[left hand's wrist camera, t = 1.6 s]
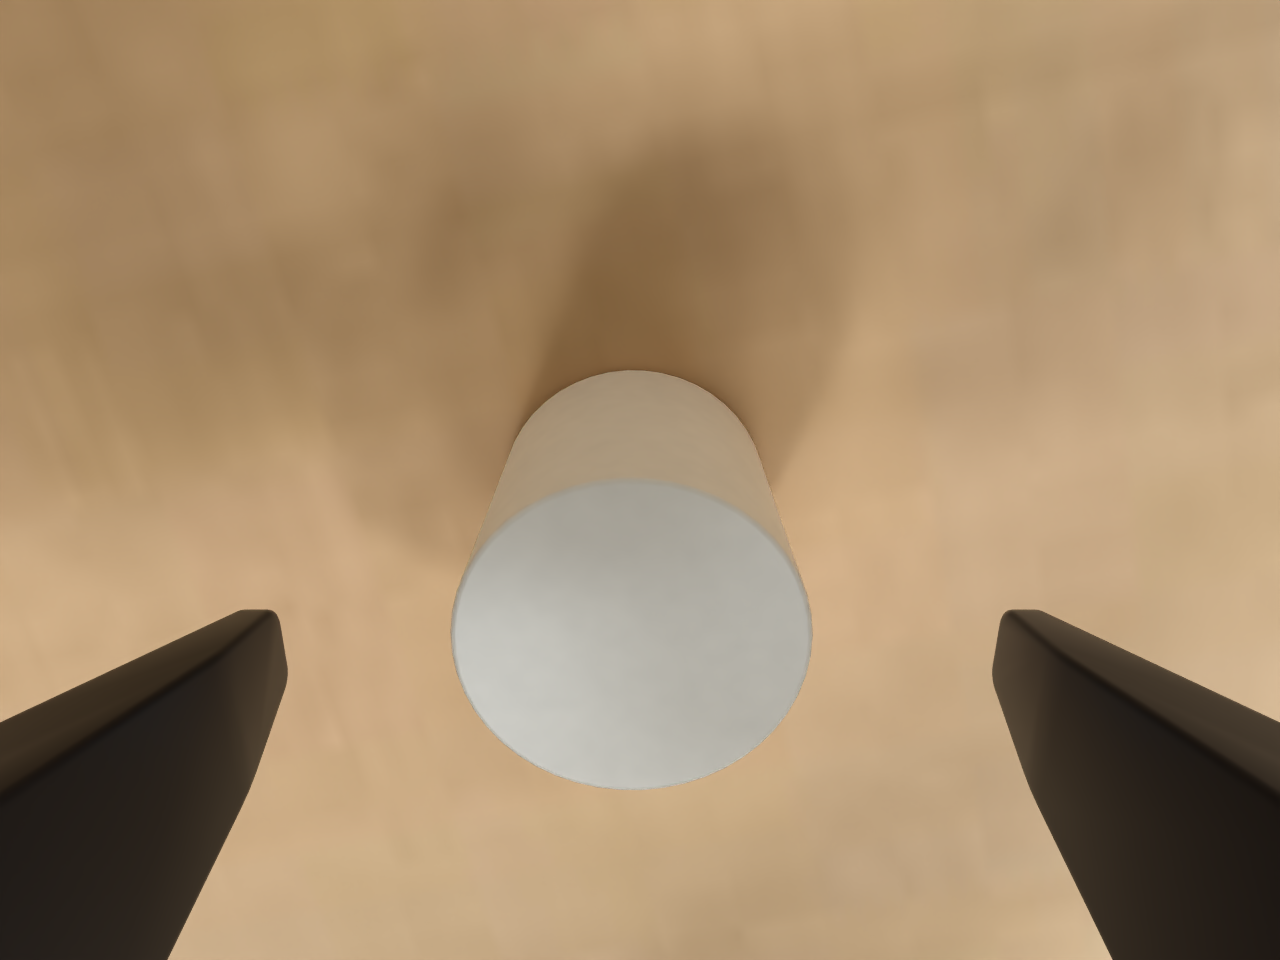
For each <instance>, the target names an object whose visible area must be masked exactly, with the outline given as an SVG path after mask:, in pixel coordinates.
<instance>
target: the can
mask: <svg viewBox="0 0 1280 960" xmlns="http://www.w3.org/2000/svg"><path fill="white" fill-rule="evenodd" d="M812 637H813V632H812V616H811V610H810V606H809V601H808V596H807V593H806V590H805V587H804V584H803V581H802V578H801V575H800V572H799V570H798V567H797V564H796V561H795V558H794V555H793V552H792V549H791V547H790V544H789V541H788V538H787V535H786V532H785V529H784V526H783V524H782V521H781V518H780V515H779V512H778V509H777V506H776V503H775V501H774V498H773V495H772V492H771V489H770V486H769V483H768V481H767V478H766V475H765V472H764V469H763V466H762V463H761V460H760V458H759V455H758V452H757V450H756V447H755V444H754V442H753V441H752V439H751V437H750V435H749V433H748V431H747V430H746V428H745V427H744V426H743V424H742V423H741V421H740V420H739V419H738V417H737V416H736V415H735V414H734V413H733V412H732V411H731V410H730V409H729V408H728V407H727V406H726V405H725V404H724V403H723V402H721V401H720V400H719V399H718V398H716V397H715V396H714V395H712V394H711V393H709V392H708V391H706V390H704V389H703V388H701V387H699V386H697V385H696V384H693V383H691V382H688V381H686V380H684V379H681V378H679V377H675V376H671V375H668V374H664V373H659V372H652V371H644V370H624V371H616V372H608V373H604V374H600V375H596V376H592V377H589V378H586V379H584V380H581V381H579V382H576V383H574V384H572V385H570V386H568V387H567V388H565V389H563V390H561V391H559V392H558V393H557V394H555V395H554V396H553V397H551V398H550V399H548V400H547V401H546V402H545V403H544V404H543V405H542V406H540V407H539V408H538V409H537V410H536V411H535V412H534V413H533V414H532V416H531V417H530V418H529V420H528V421H527V422H526V423H525V425H524V426H523V427H522V429H521V431H520V433H519V434H518V436H517V438H516V440H515V441H514V444H513V446H512V449H511V451H510V454H509V456H508V459H507V462H506V464H505V467H504V469H503V472H502V475H501V477H500V480H499V482H498V485H497V488H496V490H495V493H494V495H493V498H492V501H491V503H490V506H489V509H488V511H487V514H486V516H485V519H484V522H483V524H482V527H481V529H480V532H479V535H478V537H477V540H476V542H475V545H474V548H473V550H472V553H471V555H470V558H469V561H468V563H467V566H466V568H465V571H464V574H463V576H462V579H461V581H460V584H459V587H458V589H457V592H456V597H455V601H454V605H453V610H452V619H451V645H452V654H453V658H454V663H455V667H456V671H457V674H458V677H459V679H460V682H461V685H462V687H463V690H464V692H465V694H466V696H467V698H468V699H469V701H470V703H471V705H472V707H473V708H474V710H475V712H476V713H477V714H478V716H479V717H480V718H481V720H482V721H483V722H484V724H485V725H486V726H487V728H488V729H489V730H490V731H491V732H492V733H493V734H494V735H495V736H496V737H497V738H498V739H499V740H500V741H501V742H502V743H504V744H505V745H506V746H507V747H509V748H510V749H511V750H512V751H514V752H515V753H516V754H517V755H519V756H520V757H522V758H524V759H525V760H527V761H529V762H530V763H532V764H533V765H535V766H537V767H539V768H541V769H543V770H545V771H547V772H549V773H552V774H554V775H556V776H559V777H562V778H565V779H568V780H571V781H574V782H576V783H581V784H585V785H590V786H594V787H600V788H609V789H617V790H646V789H656V788H665V787H669V786H674V785H679V784H684V783H687V782H690V781H694V780H697V779H700V778H703V777H706V776H708V775H710V774H712V773H715V772H717V771H719V770H721V769H724V768H726V767H727V766H729V765H731V764H732V763H734V762H736V761H737V760H739V759H741V758H742V757H744V756H745V755H746V754H748V753H749V752H750V751H752V750H753V749H754V748H756V747H757V746H758V745H759V744H760V743H762V742H763V741H764V740H765V739H766V738H767V737H768V736H769V735H770V734H771V733H772V732H773V731H774V730H775V728H776V727H777V726H778V725H779V723H780V722H781V721H782V719H783V718H784V717H785V716H786V714H787V713H788V711H789V709H790V708H791V706H792V704H793V703H794V701H795V699H796V697H797V696H798V693H799V691H800V688H801V686H802V684H803V681H804V679H805V676H806V673H807V669H808V665H809V661H810V657H811V648H812Z"/></svg>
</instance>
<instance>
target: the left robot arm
mask: <svg viewBox="0 0 1280 960" xmlns="http://www.w3.org/2000/svg"><path fill="white" fill-rule="evenodd" d="M287 676H288V668H287V661H286V656H285V650H284V644H283V638H282V632H281V626H280V621H279V619H278V616H277V614H276V613H275V612H273V611H272V610H240V611H237V612H235V613H233V614H231V615H229V616H227V617H225V618H222V619H220V620H218V621H216V622H214V623H212V624H210V625H207V626H205V627H203V628H201V629H199V630H197V631H195V632H192V633H190V634H188V635H186V636H184V637H182V638H180V639H178V640H175V641H173V642H171V643H169V644H167V645H165V646H163V647H160V648H158V649H156V650H154V651H152V652H150V653H148V654H145V655H143V656H141V657H139V658H137V659H135V660H133V661H131V662H128V663H126V664H124V665H122V666H120V667H118V668H116V669H113V670H111V671H109V672H107V673H105V674H103V675H101V676H98V677H96V678H94V679H92V680H90V681H88V682H86V683H84V684H81V685H79V686H77V687H75V688H73V689H71V690H69V691H66V692H64V693H62V694H60V695H58V696H56V697H54V698H51V699H49V700H47V701H45V702H43V703H41V704H39V705H37V706H34V707H32V708H30V709H28V710H26V711H24V712H22V713H19V714H17V715H15V716H13V717H11V718H9V719H7V720H4V721H2V722H0V960H167V959H168V957H169V955H170V953H171V951H172V949H173V947H174V945H175V943H176V941H177V939H178V937H179V935H180V933H181V931H182V929H183V927H184V924H185V922H186V920H187V918H188V916H189V914H190V912H191V910H192V908H193V906H194V904H195V902H196V900H197V898H198V896H199V894H200V892H201V889H202V887H203V885H204V883H205V881H206V879H207V877H208V875H209V873H210V871H211V869H212V867H213V865H214V863H215V861H216V859H217V857H218V855H219V852H220V850H221V848H222V846H223V844H224V842H225V840H226V838H227V836H228V834H229V832H230V830H231V828H232V826H233V824H234V822H235V820H236V818H237V815H238V813H239V811H240V809H241V807H242V805H243V803H244V801H245V798H246V796H247V794H248V792H249V790H250V787H251V784H252V782H253V779H254V777H255V774H256V771H257V768H258V765H259V763H260V760H261V757H262V754H263V751H264V748H265V745H266V742H267V740H268V737H269V734H270V731H271V728H272V725H273V722H274V719H275V716H276V714H277V711H278V708H279V705H280V702H281V699H282V696H283V693H284V690H285V687H286V683H287ZM992 676H993V683H994V687H995V690H996V693H997V696H998V699H999V702H1000V705H1001V708H1002V711H1003V714H1004V716H1005V719H1006V722H1007V725H1008V728H1009V731H1010V734H1011V737H1012V740H1013V742H1014V745H1015V748H1016V751H1017V754H1018V757H1019V760H1020V763H1021V766H1022V768H1023V771H1024V774H1025V777H1026V779H1027V782H1028V784H1029V787H1030V790H1031V792H1032V794H1033V796H1034V798H1035V801H1036V803H1037V805H1038V807H1039V809H1040V811H1041V813H1042V815H1043V818H1044V820H1045V822H1046V824H1047V826H1048V828H1049V830H1050V832H1051V834H1052V836H1053V838H1054V840H1055V842H1056V844H1057V846H1058V848H1059V850H1060V852H1061V855H1062V857H1063V859H1064V861H1065V863H1066V865H1067V867H1068V869H1069V871H1070V873H1071V875H1072V877H1073V879H1074V881H1075V883H1076V885H1077V887H1078V890H1079V892H1080V894H1081V896H1082V898H1083V900H1084V902H1085V904H1086V906H1087V908H1088V910H1089V912H1090V914H1091V916H1092V918H1093V920H1094V922H1095V924H1096V927H1097V929H1098V931H1099V933H1100V935H1101V937H1102V939H1103V941H1104V943H1105V945H1106V947H1107V949H1108V951H1109V953H1110V955H1111V957H1112V959H1113V960H1280V722H1278V721H1275V720H1273V719H1271V718H1269V717H1267V716H1265V715H1263V714H1261V713H1258V712H1256V711H1254V710H1252V709H1250V708H1248V707H1246V706H1243V705H1241V704H1239V703H1237V702H1235V701H1233V700H1231V699H1229V698H1226V697H1224V696H1222V695H1220V694H1218V693H1216V692H1214V691H1211V690H1209V689H1207V688H1205V687H1203V686H1201V685H1199V684H1196V683H1194V682H1192V681H1190V680H1188V679H1186V678H1184V677H1182V676H1179V675H1177V674H1175V673H1173V672H1171V671H1169V670H1167V669H1164V668H1162V667H1160V666H1158V665H1156V664H1154V663H1152V662H1149V661H1147V660H1145V659H1143V658H1141V657H1139V656H1137V655H1135V654H1132V653H1130V652H1128V651H1126V650H1124V649H1122V648H1120V647H1117V646H1115V645H1113V644H1111V643H1109V642H1107V641H1105V640H1102V639H1100V638H1098V637H1096V636H1094V635H1092V634H1090V633H1088V632H1085V631H1083V630H1081V629H1079V628H1077V627H1075V626H1073V625H1070V624H1068V623H1066V622H1064V621H1062V620H1060V619H1058V618H1055V617H1053V616H1051V615H1049V614H1047V613H1045V612H1043V611H1040V610H1008V611H1007V612H1005V613H1004V614H1003V616H1002V619H1001V621H1000V626H999V632H998V638H997V644H996V650H995V656H994V661H993V668H992Z"/></svg>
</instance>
